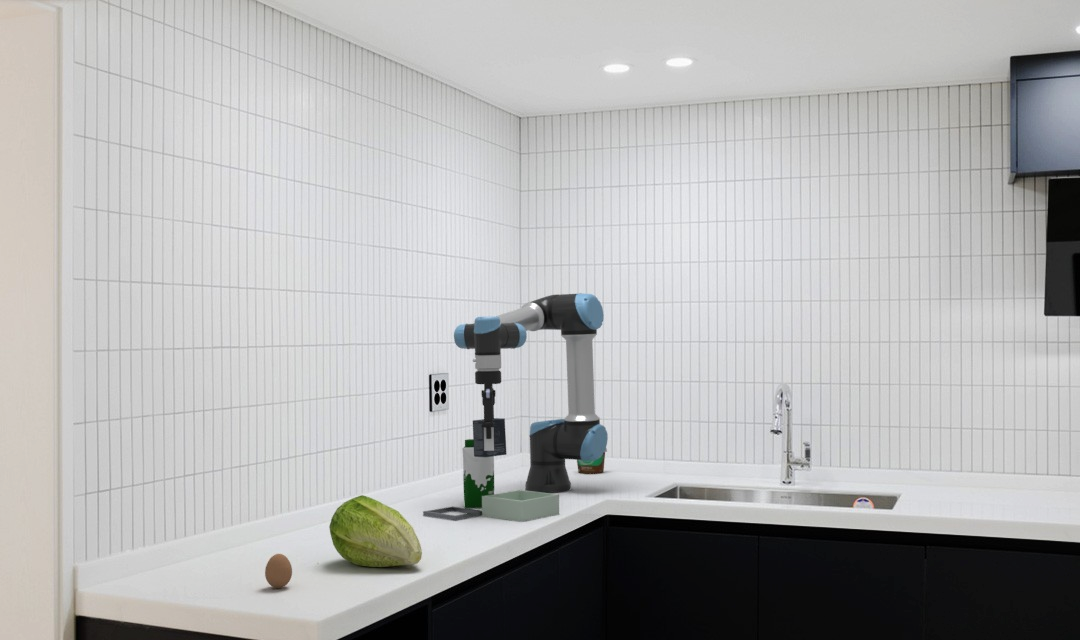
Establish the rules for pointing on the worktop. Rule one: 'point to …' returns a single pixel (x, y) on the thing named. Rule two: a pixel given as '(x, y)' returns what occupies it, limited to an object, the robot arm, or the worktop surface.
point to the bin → (520, 505)
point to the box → (498, 438)
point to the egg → (278, 571)
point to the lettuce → (373, 534)
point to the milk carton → (476, 476)
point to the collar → (438, 514)
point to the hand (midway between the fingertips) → (489, 448)
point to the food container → (592, 465)
